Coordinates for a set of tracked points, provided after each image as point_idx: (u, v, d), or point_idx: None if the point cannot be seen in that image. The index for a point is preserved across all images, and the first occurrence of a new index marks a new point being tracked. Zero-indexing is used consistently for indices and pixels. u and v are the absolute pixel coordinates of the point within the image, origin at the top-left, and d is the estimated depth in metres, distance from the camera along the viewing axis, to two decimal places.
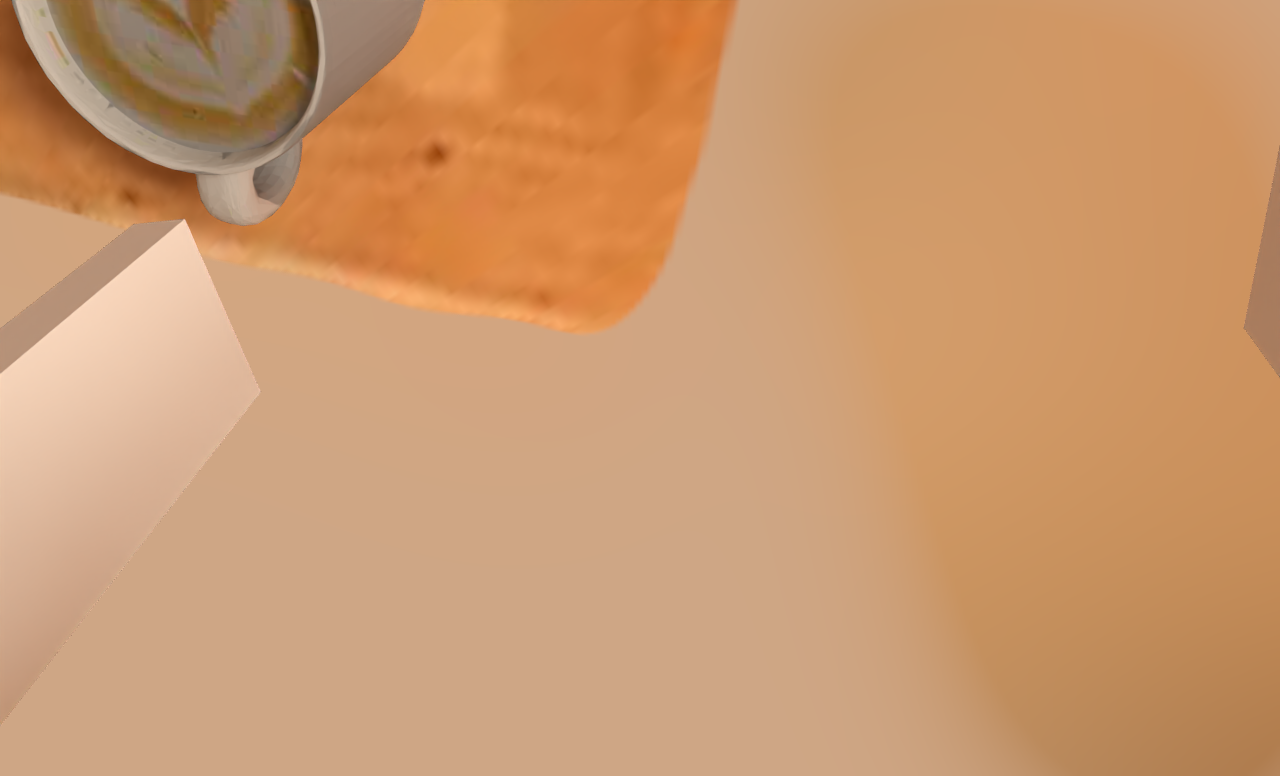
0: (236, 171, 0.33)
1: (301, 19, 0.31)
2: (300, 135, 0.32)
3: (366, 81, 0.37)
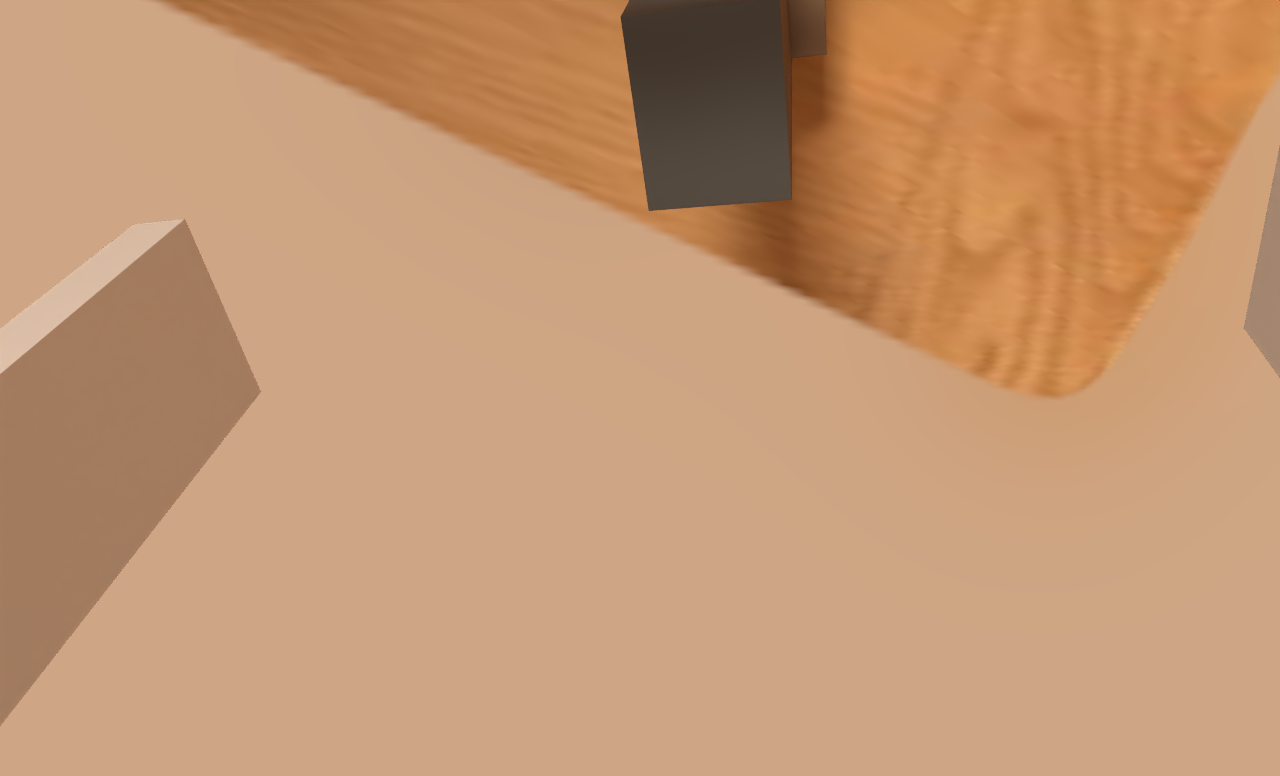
0: None
1: None
2: None
3: None
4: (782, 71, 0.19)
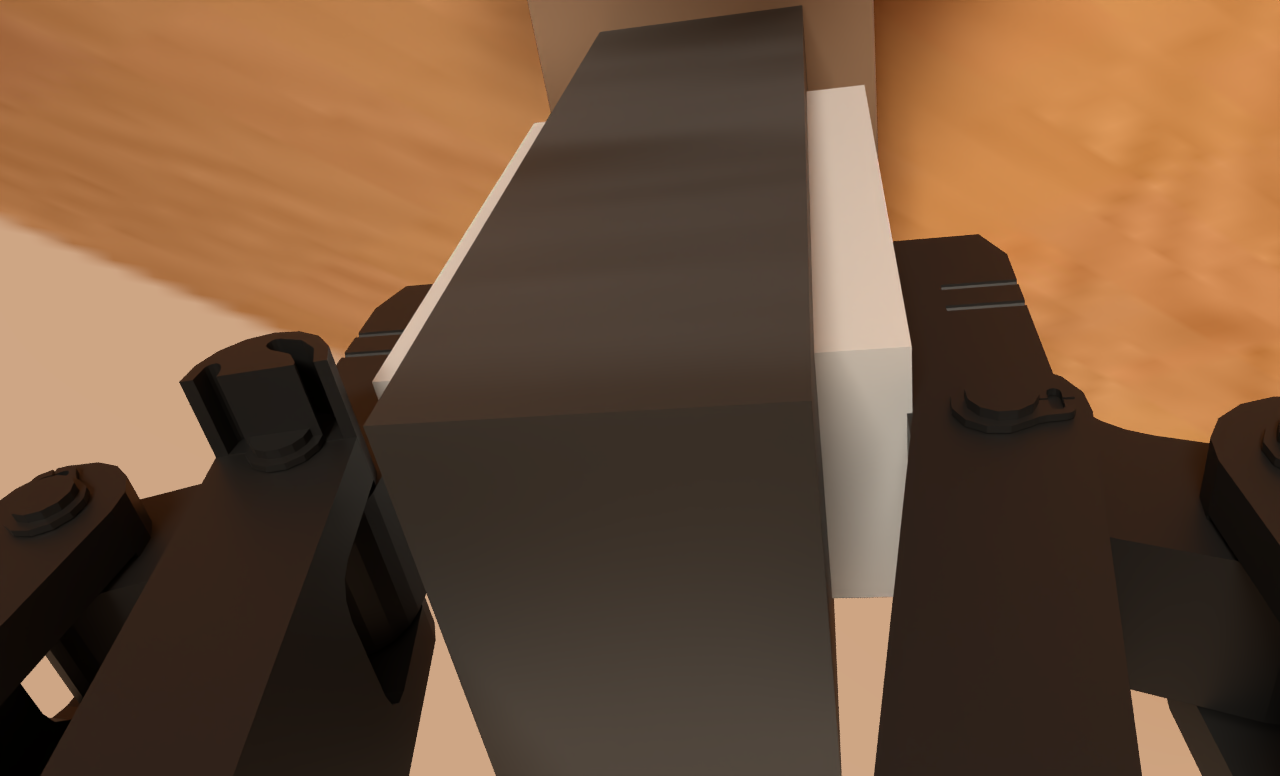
0: None
1: None
2: None
3: None
4: (820, 560, 0.07)
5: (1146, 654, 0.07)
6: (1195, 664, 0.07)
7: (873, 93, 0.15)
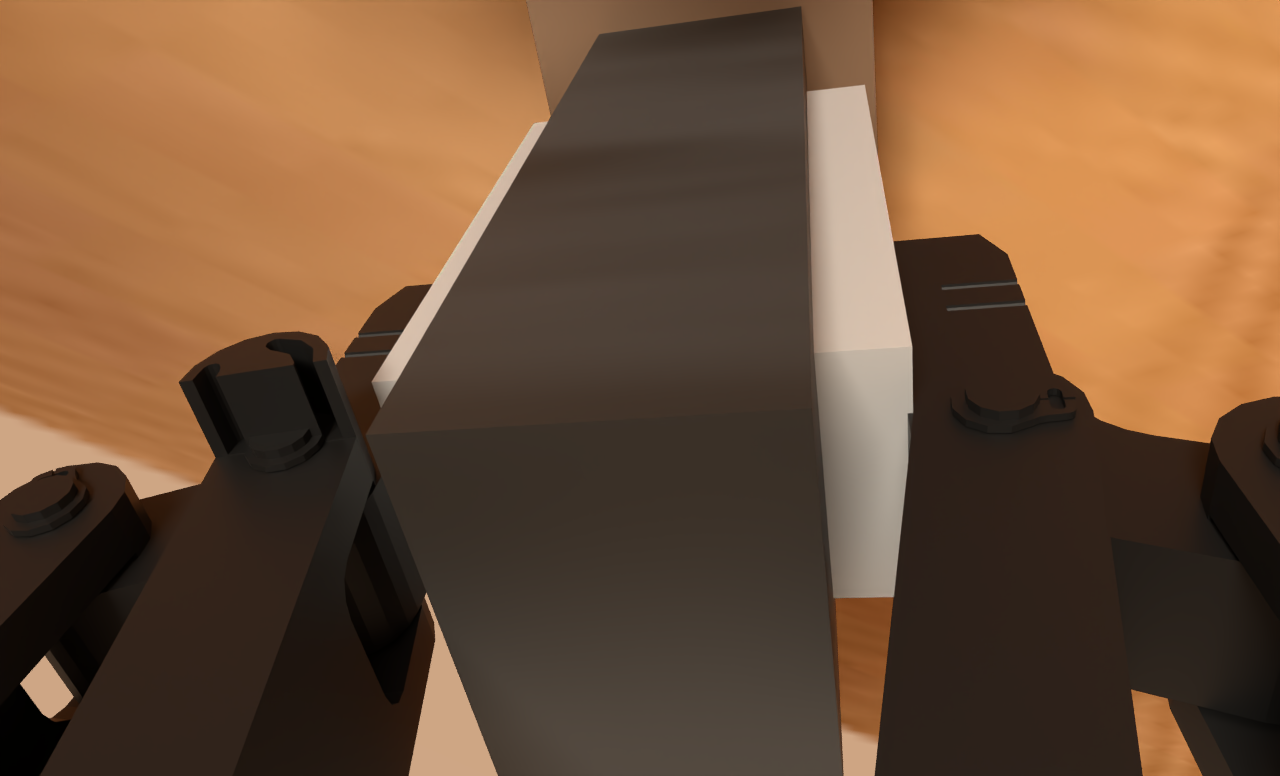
0: None
1: None
2: None
3: None
4: (821, 565, 0.07)
5: (1149, 654, 0.07)
6: (1196, 663, 0.07)
7: (872, 94, 0.15)
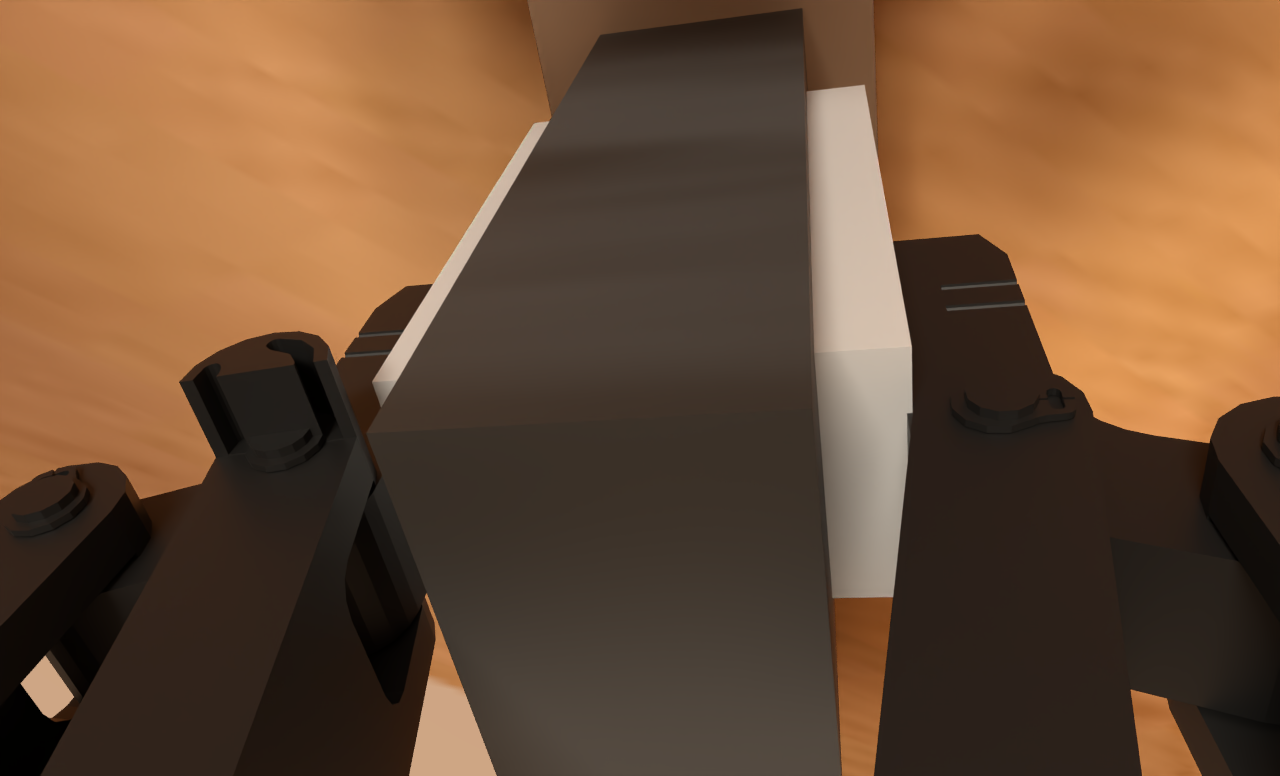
0: None
1: None
2: None
3: None
4: (820, 566, 0.07)
5: (1147, 654, 0.07)
6: (1196, 663, 0.07)
7: (873, 96, 0.15)
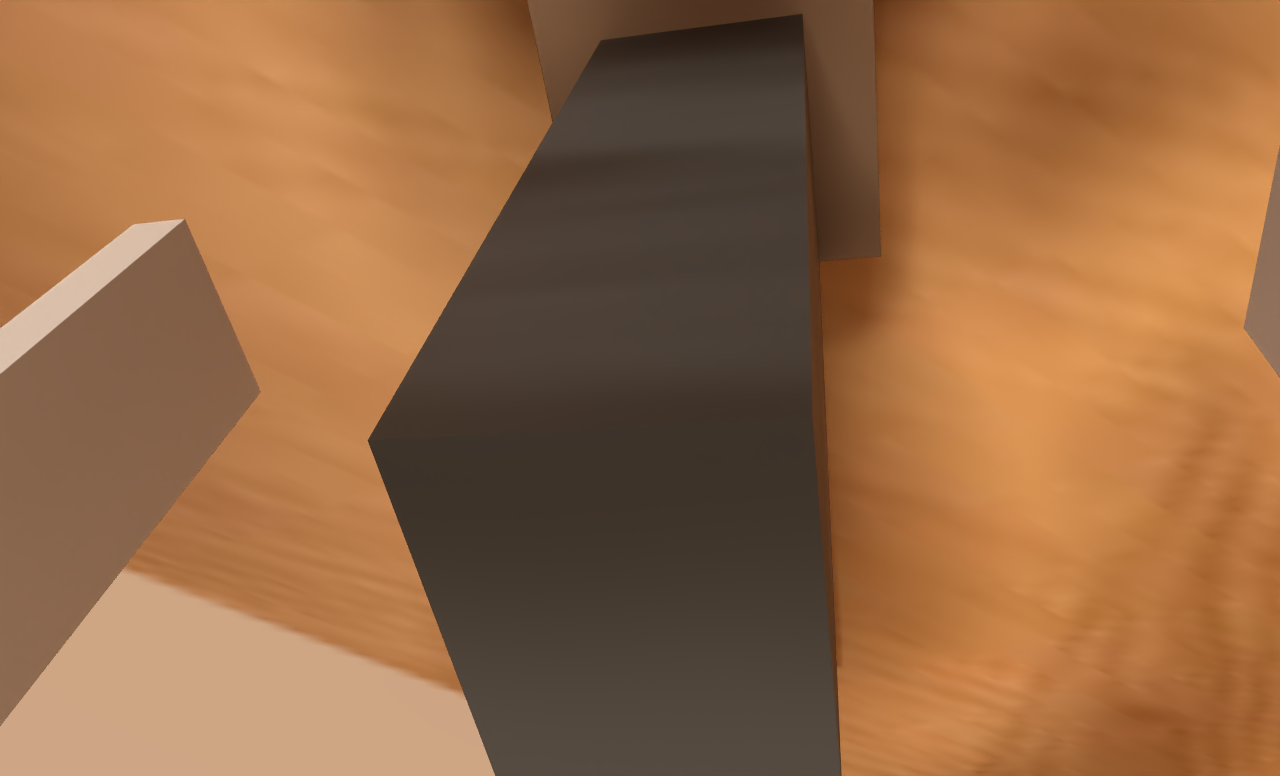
0: None
1: None
2: None
3: None
4: (820, 573, 0.07)
5: None
6: None
7: (873, 101, 0.15)
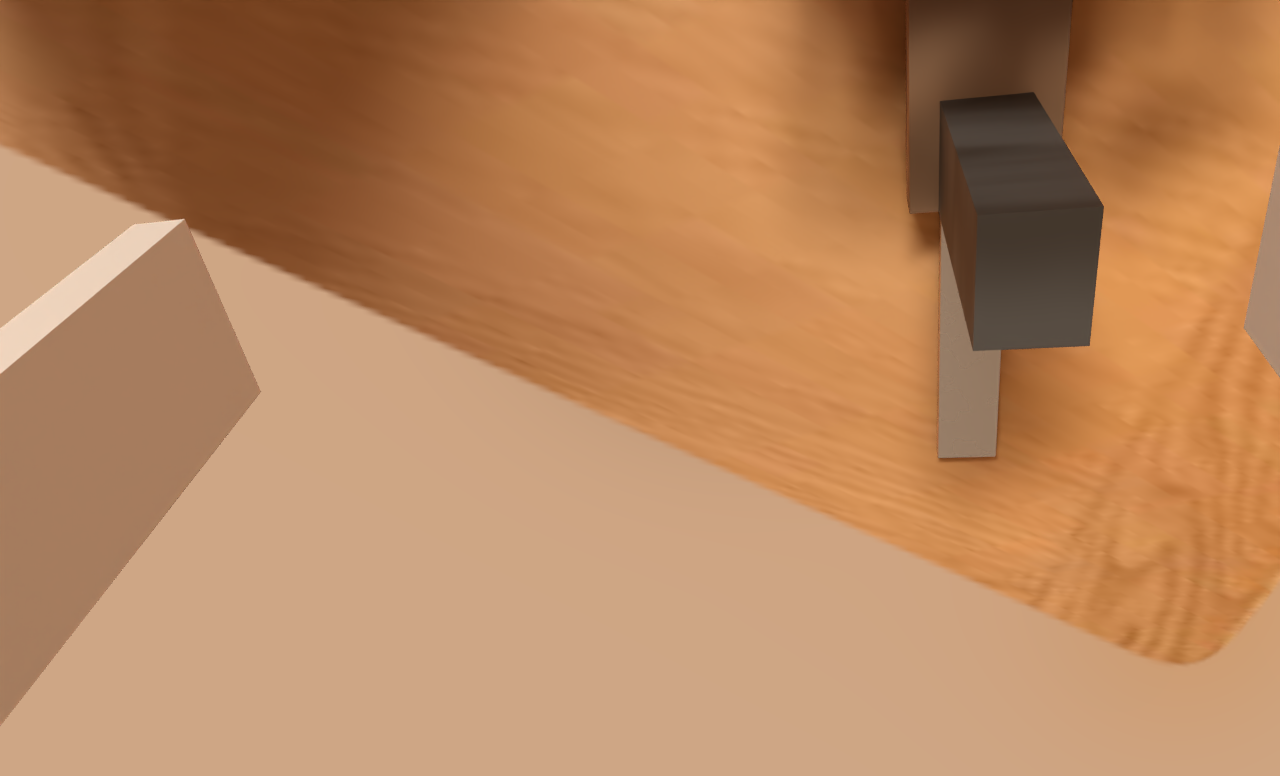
0: None
1: None
2: None
3: None
4: (1097, 255, 0.26)
5: None
6: None
7: (1061, 130, 0.34)
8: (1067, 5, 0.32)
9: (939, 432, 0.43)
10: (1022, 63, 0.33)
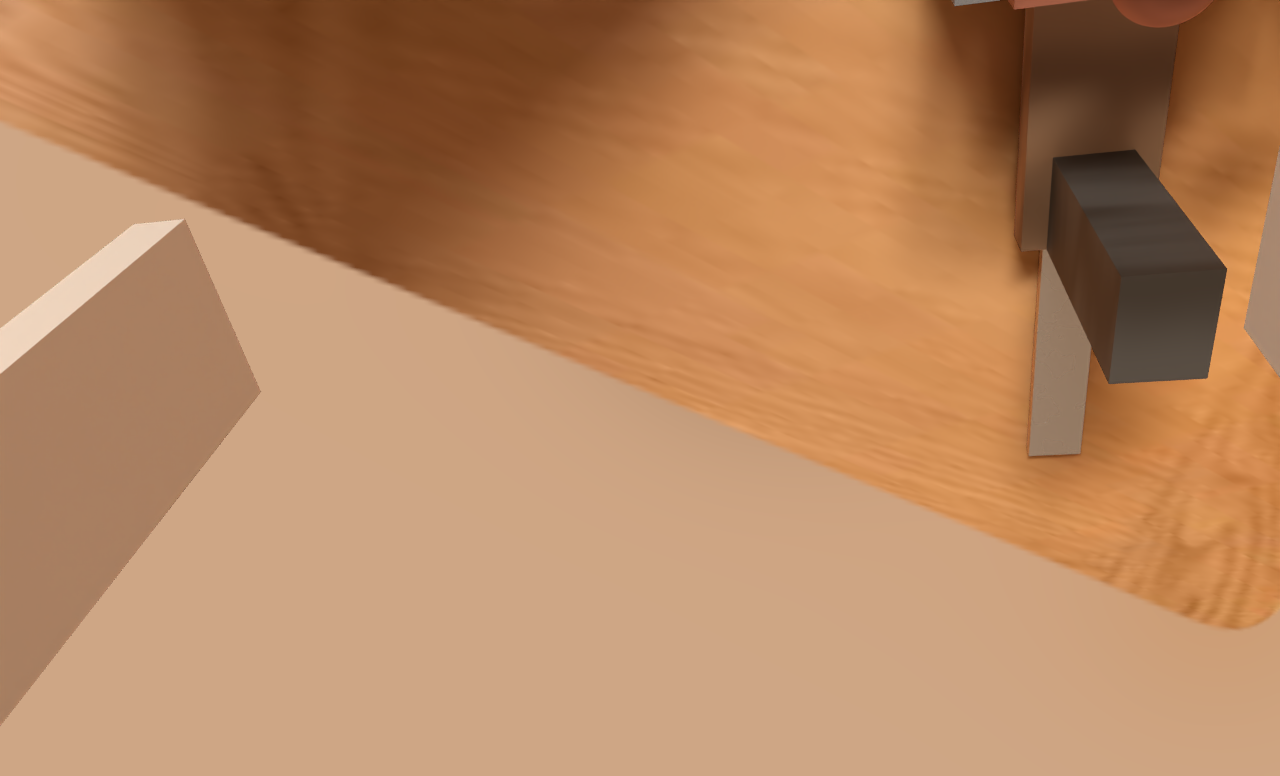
0: None
1: None
2: None
3: None
4: (1219, 307, 0.31)
5: None
6: None
7: None
8: (1167, 78, 0.37)
9: (1031, 434, 0.49)
10: (1126, 125, 0.38)
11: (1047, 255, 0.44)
